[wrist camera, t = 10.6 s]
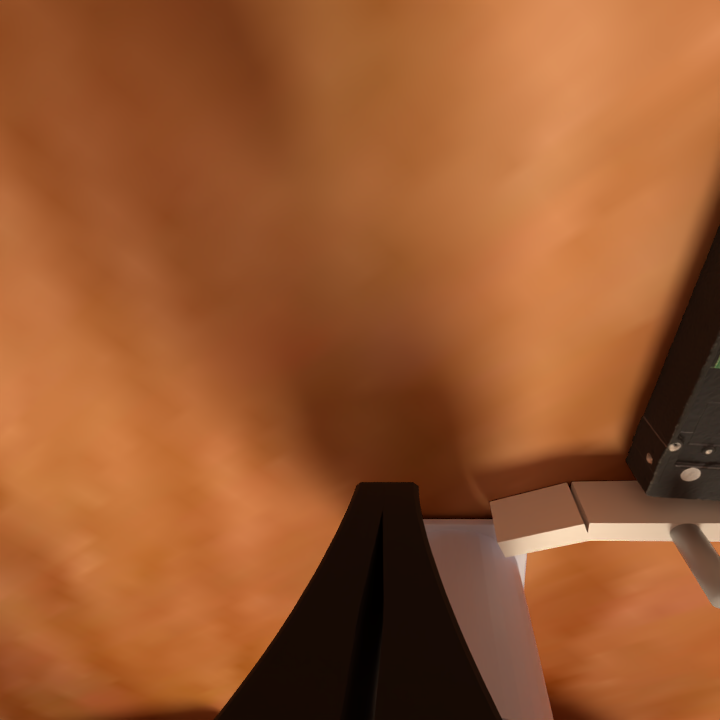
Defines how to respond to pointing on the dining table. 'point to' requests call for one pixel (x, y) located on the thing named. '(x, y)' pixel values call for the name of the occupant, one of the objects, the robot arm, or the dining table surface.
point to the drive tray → (611, 523)
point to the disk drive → (686, 403)
